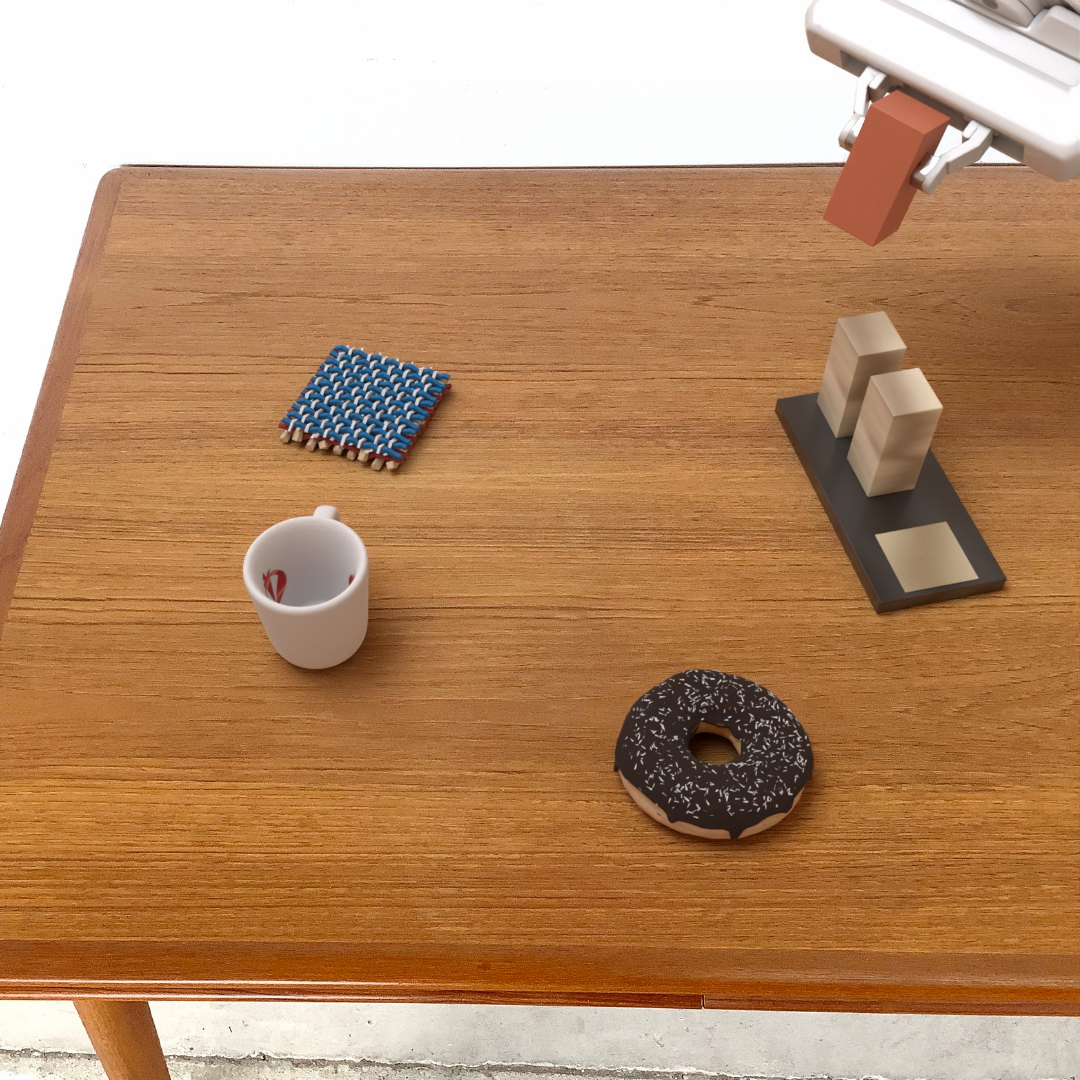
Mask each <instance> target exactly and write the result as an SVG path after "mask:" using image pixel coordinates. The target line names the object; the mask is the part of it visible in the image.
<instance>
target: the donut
mask: <svg viewBox="0 0 1080 1080" xmlns="http://www.w3.org/2000/svg"><path fill="white" fill-rule="evenodd" d="M700 733H708V734H715V735H718V736H721V737H722V738H723V737H724V738H725V739H727V740H729V741H730V743H731V744H732V745H733V747H734V749H735V750H736V752H737V754H738V757H737V758H734V759H733V760H730V761H729V762H725V763H723V764H712V763H707V762H704V761H701V760H700V759H697V757H695V756H694V755H693V754H692V753H691V750H690V749H689V746H690V742H691V741H692V739H694V737H695V735H696V734H700ZM613 762H614V763H613V769H612V771H613V772H614V773H618V772H619V773H618V774H619V775H620V779H621V782H622V785H623V787H624V788H625V790H626V791H627V793H628V794H629V796H630V797H631V798H632V799H633V801H634V803H635V804H636V806H638V808H639V809H640V810H641V811H642V812H644V813H645V814H647V815H648V816H649V817H651V818H652V819H653V820H654V821H656V823H657V822H658V823H659V824H661V825H664V826H666V827H668V828H670V829H672V830H675V831H676V832H678V833H683V834H687V835H691V836H695V837H696V836H697V837H702V838H707V839H712V840H730V841H733V842H734V841H737V840H738V839H741V838H746V837H749V836H751V835H755V834H758V833H760V832H763V831H765V830H767V829H769V828H771V827H773V826H775V825H777V824H778V823H779V822H781V821H782V820H783V819H784V818H785V817H787V815H789V814H790V813H791V812H792V810H793V809H794V808H795V807H796V805H797V804H798V802H799V801H800V799H801V796H802V794H803V791H804V789H805V785H806V784H807V783H808V781H811V780H813V771H814V768H815V767H814V765H815V757H814V753H813V749H812V743H811V740H810V736H809V733H807V731H806V729H805V728H804V726H803V725H802V723H801V722H800V721H799V720H798V717H797V716H796V714H794V713H793V711H792V710H791V709H790V708H789V707H788V706H787V705H786V704H785V703H784V702H783V700H782V699H781V698H780V697H778V696H777V695H776V694H775V692H771V691H770V690H769V689H768V688H767V687H764V686H762V685H761V684H760V683H758V682H755V681H753V680H750V679H748V678H745V677H742V676H740V675H737V674H736V675H735V674H731V673H729V672H722V671H721V670H717V669H701V668H692V669H686V670H683V671H680V672H678V673H675V674H673V675H671V676H670V677H667V678H666V679H664V680H662V681H661V682H659V683H657V684H655V686H653V687H651V688H650V689H649V690H647V691H646V692H645V693H644V694H642V695H640V697H638V699H636V701H635V702H634V703H633V704H632V705H631V707H630V709H629V711H628V713H627V714H626V715H625V718H624V721H623V723H622V726H621V728H620V731H619V734H618V737H617V739H616V744H615V749H614V761H613Z"/></svg>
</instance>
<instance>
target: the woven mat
mask: <svg viewBox="0 0 1080 1080" xmlns="http://www.w3.org/2000/svg"><path fill="white" fill-rule="evenodd" d="M364 350H365V348H364V347H361V348H358V349H357V348H356V347H351V348H350V345H349V344H346V345H344V344H339V345H335V346H334V347H333V349H332V348H331V350H330V351H329V353H328V356H326V358H325V359H324V361H323V363H321V364H320V365H319V368H318V369H317V370H316V372H315V373H314V376H312V377H311V378H310V379H309V381H308V383H307V385H306V386H305V387H304V388H303V390H302V391H301V392H300V393H299V396H298V397H297V399H296V400H295V402H293V403H292V405H291V408H289V409H288V410H287V413H286V414H285V416H283V418H282V419H281V421H280V422H279V423H278V425H277V426H278V428H280V429H282V430H283V432H282V433H281V435H280V437H279V440H280V441H281V442H282V444H285V443H288V442H289V441H290V439H291V440H292V441H295V442H302V440H303V441H304V440H308V439H309V440H308V442H307V443H306V445H305V449H306V450H307V451H309V452H313V451H314V450H315V448H316V446H317V445H318V448H319V450H328V449H329V448H330V447H332V446H333V448H332V449H333V450H332V452H333V453H334V454H336V455H338V456H341V454H342V452H343V451H344V449H347V450H348V451H347V454H346V459H348V460H350V461H353V460H354V459H355V458H356V457H357V460H359V461H362V462H367V461H368V460H369V459H372V458H374V460H373V461H372V462H371V465H370V467H371V469H372V470H374V471H380V469H381V468H382V466H383V465H384V463H385V465H386V468H387V470H390V471H391V470H394V469H397V468H398V466H399V465H400V464H401V465H402V464H403V463H404V459H405V460H407V459H408V458H409V456H410V455H409V453H408V451H409V452H410V451H412V449H413V443H416V442H417V440H418V438H417V436H420V435H421V434H422V431H425V430H426V428H427V425H426V423H427V422H429V421H430V419H431V416H433V415H434V413H435V410H434V409H437V408H438V407H439V402H442V401H443V399H444V395H446V394H447V392H448V390H451V389H452V387H453V385H452V383H451V382H449V380H450V378H451V374H448V373H445V372H444V373H441V372H440V371H438V370H436V371H435V370H434V367H433V366H429V368H427V367H425V366H422V367H417V366H416V365H415V364H416V362H414V361H411V362H410V363H407V362H408V361H402V362H399V361H400V358H398V357H396V359H395V358H390V357H389V356H387V355H386V356H384V357H383V356H382V352H378V354H375V353H376V352H371V353H366V352H364ZM357 455H358V456H357ZM385 461H386V462H385Z"/></svg>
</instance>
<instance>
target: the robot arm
mask: <svg viewBox="0 0 1080 1080" xmlns="http://www.w3.org/2000/svg"><path fill="white" fill-rule="evenodd" d="M804 15H805V16H804V29H805V31H804V32H805V36H806V41H807V45H808V48H809V51H810V52H811V53H812V54H813V55H815V56H816V57H818V58H819V59H820V58H821V59H822V60H825V61H826V62H828V63H830V64H832V65H834V66H836V67H837V68H839V69H841V70H843V71H845V72H847V73H849V74H851V75H853V76H855V77H856V78H858V79H856V87H855V94H854V95H855V96H854V101H853V102H854V103H853V115H852V116H851V117H850V119H849V120H848V121H847V123H846V124H845V125H844V127H843V128H842V130H841V131H840V132H839V135H838V138H837V140H838V145H839V148H842V149H844V150H845V151H847V152H849V153H850V151H851V149H852V147H853V144H854V142H855V140H856V137H857V135H858V133H859V130H860V128H861V126H862V123H863V121H864V119H865V116H866V114H867V111H868V109H869V107H870V103H871V104H872V103H874V102H876V101H878V100H880V99H881V98H883V97H885V96H887V95H886V94H888V95H889V94H890V93H892V92H894V91H896V90H898V91H900V92H902V93H904V94H906V95H908V96H910V97H912V98H914V99H916V100H917V101H919V102H921V103H923V104H925V105H927V106H929V107H931V108H933V109H935V110H937V111H938V112H940V113H942V114H944V115H946V116H948V117H950V118H951V120H950V122H949V125H948V126H950V127H952V128H954V129H955V130H957V131H960V132H961V144H959V145H957V146H955V147H953V148H951V149H950V150H948V151H946V152H945V153H942V154H940V155H939V156H937V155H935V154H934V155H933V154H931V153H929V152H927V153H926V154H925V155H924V157H923V158H922V159H921V161H920V165H918V166H916V168H915V169H914V170H913V172H912V174H911V176H910V181H911V182H910V185H912V186H913V187H915V188H917V190H918V191H920V192H922V193H923V194H925V195H927V196H929V197H930V196H931V195H933V194H934V193H935V191H936V190H937V189H938V187H939V186H940V185H941V183H942V182H943V181H944V179H945V178H946V177H947V175H948V176H950V175H952V174H954V173H957V172H958V171H960V170H963V169H964V168H966V167H968V166H971V165H973V164H975V163H977V162H979V161H980V160H981V159H982V157H983V156H984V155H985V154H986V152H988V149H989V148H992V149H994V150H995V151H998V152H1000V153H1001V154H1003V155H1005V156H1007V157H1009V158H1011V159H1013V160H1015V161H1016V162H1018V163H1020V164H1022V165H1024V166H1025V167H1028V168H1030V169H1032V170H1034V171H1035V172H1036V173H1039V174H1041V175H1043V176H1045V177H1047V178H1049V179H1050V180H1053V181H1055V182H1057V183H1063V182H1064V183H1065V182H1066V181H1069V180H1073V179H1075V178H1078V177H1080V0H813V1H812V2H811V3H810V4H809V6H808V8H807V9H806V11H805V14H804Z"/></svg>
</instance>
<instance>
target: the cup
mask: <svg viewBox="0 0 1080 1080" xmlns="http://www.w3.org/2000/svg"><path fill="white" fill-rule="evenodd" d="M369 559H370V558H369V554H368V549H367V547H366V545H365V543H364V541H363V540H362V538H361V537H360V535H359V534H358V533H357V532H356V531H355V530H354V529H352V528H351V527H350V526H348V525H347V524H345V523H343V522H342V519H341V514H340V511H339V509H338V508H337V507H335V506H333V505H327V504H325V505H323V504H322V505H318V506H317V508H315V510H314V512H313V515H305V516H298V517H297V516H296V517H293V518H288V519H285V520H283V521H281V522H278V523H276V524H274V525H271V526H270V527H269V528H267V529H266V530H264V531H263V532H262V533H261V534H259V535H258V536H256V538H255V539H254V541H253V542H252V543H251V545H250V546H249V548H248V549H247V552H246V554H245V556H244V558H243V563H242V578H243V583H244V586H245V589H246V590H247V593H248V596H249V597H250V599H251V603H252V604H253V606H254V609H255V611H256V612H257V616H258V618H259V620H260V622H261V625H262V627H263V629H264V631H265V633H266V635H267V638H268V640H269V642H270V643H271V645H272V646H273V648H274V650H275V651H276V653H278V655H279V656H280V657H282V658H283V659H284V660H285V661H287V662H288V663H290V664H292V665H294V666H296V667H300V668H303V669H308V670H322V669H328V668H331V667H335V666H337V665H340V664H341V663H344V662H345V661H347V660H348V659H349V658H351V657H352V656H353V655H355V653H356V652H357V651H358V649H360V647H361V645H362V643H363V642H364V639H365V637H366V634H367V630H368V625H369V588H370V587H369V584H370V583H369V580H370V577H369V576H370V573H369V572H370V560H369Z"/></svg>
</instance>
